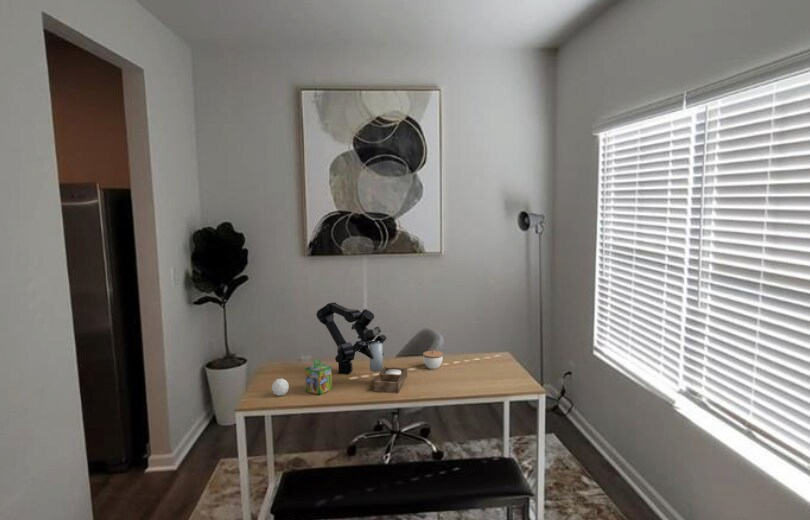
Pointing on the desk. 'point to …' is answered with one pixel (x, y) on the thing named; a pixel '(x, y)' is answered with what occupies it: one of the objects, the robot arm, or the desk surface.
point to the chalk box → (318, 378)
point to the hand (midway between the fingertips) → (378, 357)
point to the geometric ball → (280, 387)
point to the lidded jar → (432, 359)
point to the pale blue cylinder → (376, 357)
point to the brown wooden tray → (390, 380)
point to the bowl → (393, 371)
